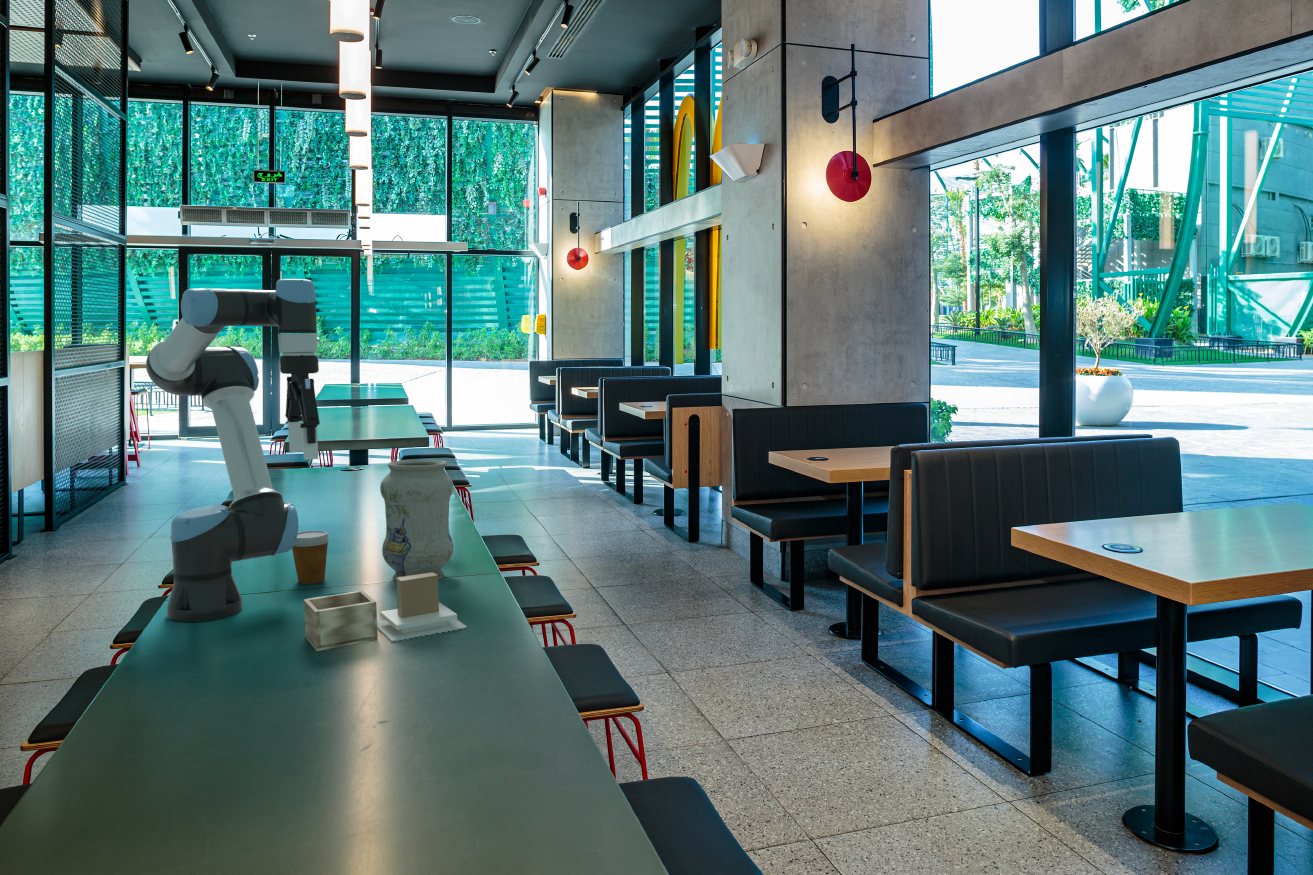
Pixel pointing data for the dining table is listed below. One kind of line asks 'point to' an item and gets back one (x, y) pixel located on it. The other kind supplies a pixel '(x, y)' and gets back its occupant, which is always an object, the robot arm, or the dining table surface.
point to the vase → (417, 517)
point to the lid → (418, 604)
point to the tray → (397, 635)
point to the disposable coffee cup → (310, 556)
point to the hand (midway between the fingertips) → (303, 455)
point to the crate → (340, 620)
